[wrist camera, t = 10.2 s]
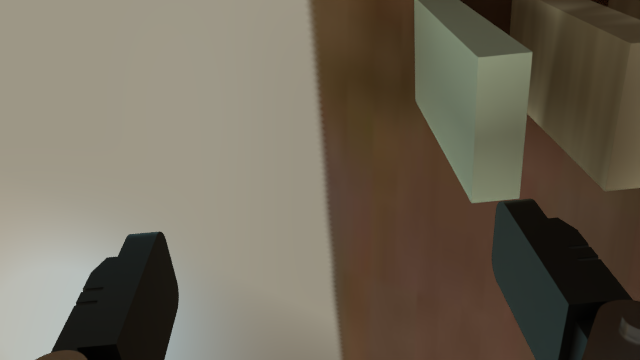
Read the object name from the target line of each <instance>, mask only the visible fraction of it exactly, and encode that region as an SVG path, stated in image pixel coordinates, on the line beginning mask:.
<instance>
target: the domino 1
mask: <svg viewBox="0 0 640 360" xmlns="http://www.w3.org/2000/svg"><path fill="white" fill-rule="evenodd" d="M414 22H415V101H416V103H417V104H418V106H419V108H420V110H421V112H422V113H423V115H424V117H425V119H426V121H427V123H428V124H429V126H430V128H431V130H432V132H433V134H434V135H435V137H436V139H437V141H438V143H439V144H440V146H441V148H442V150H443V152H444V154H445V155H446V157H447V159H448V161H449V163H450V165H451V166H452V168H453V170H454V172H455V174H456V175H457V177H458V179H459V181H460V183H461V185H462V186H463V188H464V190H465V192H466V194H467V196H468V197H469V199H470V201H471V203H478V202H488V201H499V200H509V199H519V195H520V184H521V173H522V162H523V151H524V140H525V129H526V118H527V107H528V96H529V86H530V75H531V64H532V53H533V52H532V51H530V50H529V49H528V48H526V47H525V46H523V45H522V44H521V43H519V42H518V41H516V40H515V39H514V38H512V37H511V36H509V35H508V34H506V33H505V32H504V31H502V30H501V29H499V28H498V27H497V26H495V25H494V24H492V23H491V22H490V21H488V20H487V19H485V18H484V17H482V16H481V15H480V14H478V13H477V12H475V11H474V10H473V9H471V8H470V7H468V6H467V5H466V4H464V3H463V2H461V1H460V0H414Z"/></svg>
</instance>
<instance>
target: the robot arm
mask: <svg viewBox="0 0 640 360" xmlns="http://www.w3.org/2000/svg"><path fill="white" fill-rule="evenodd" d="M492 266H493V271H494V275H495V278H496V281H497V283H498V285H499V287H500V289H501V291H502V293H503V295H504V297H505V299H506V301H507V303H508V305H509V307H510V309H511V311H512V313H513V315H514V317H515V319H516V321H517V323H518V325H519V327H520V329H521V331H522V333H523V335H524V337H525V339H526V341H527V343H528V345H529V347H530V349H531V351H532V353H533V355H534V357H535V359H536V360H640V302H639V301H633V299H632V298H631V297H630V296H629V294H628V293H627V292H626V291H625V289H624V288H623V287H622V286H621V284H620V283H619V282H618V281H617V279H616V278H615V277H614V276H613V274H612V273H611V272H610V271H609V269H608V268H607V267H606V266H605V264H604V263H603V262H602V261H601V259H598V255H597V254H596V253H595V252H594V250H593V249H592V248H591V247H589V246H588V243H587V242H586V240H585V239H584V238H583V237H582V235H581V234H580V233H579V232H578V230H577V229H575V228H574V227H572V226H570V225H569V224H567V223H566V222H564V221H562V220H561V219H559V218H547V217H546V215H545V214H544V213H543V211H542V210H541V209H540V207H539V206H538V205H537V203H536V202H535V201H534V200H533V199H523V200H512V201H501V202H499V203H498V205H497V208H496V216H495V227H494V237H493V248H492ZM178 298H179V293H178V285H177V280H176V276H175V272H174V269H173V265H172V261H171V257H170V254H169V250H168V246H167V242H166V239H165V236H164V234H163V233H162V232H151V233H140V234H130V235H128V236H127V238H126V240H125V242H124V244H123V246H122V248H121V251H120V253H119V255H118V257H109V258H106V259H105V260H104V261H103V262H102V263H101V264H100V265H99V266H98V267H97V268H96V269H94V270H93V271H92V272H91V274H90V276H89V278H88V280H87V282H86V284H85V286H84V288H83V292H81V294H80V296H79V298H78V300H77V302H76V306H74V308H73V310H72V312H71V314H70V316H69V318H68V320H67V322H66V323H65V325H64V328H63V330H62V331H61V333H60V335H59V337H58V340H57V341H56V343H55V346H54V347H53V349H52V351H51V353H49V354H46V355H44V356H42V357H39V358H38V359H36V360H164V359H165V355H166V351H167V347H168V343H169V340H170V336H171V332H172V328H173V324H174V320H175V317H176V313H177V309H178V300H179V299H178Z"/></svg>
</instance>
